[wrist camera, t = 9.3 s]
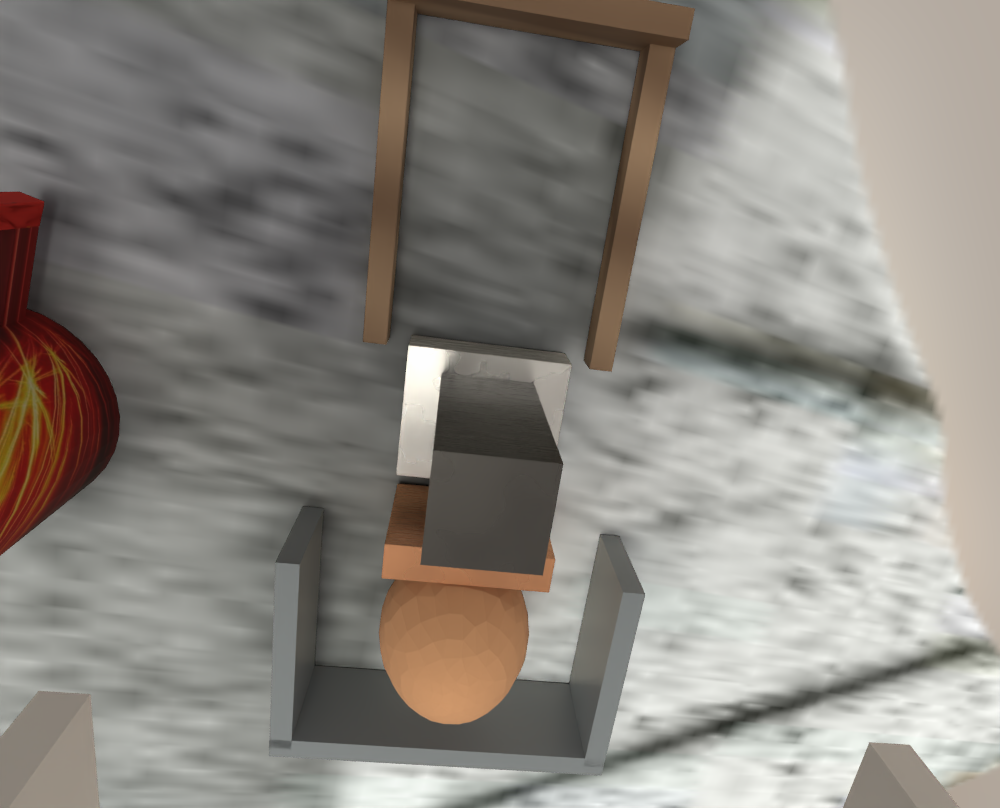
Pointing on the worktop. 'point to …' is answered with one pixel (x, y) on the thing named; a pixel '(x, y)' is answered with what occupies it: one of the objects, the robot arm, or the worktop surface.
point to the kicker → (478, 465)
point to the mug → (43, 391)
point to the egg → (452, 647)
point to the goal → (416, 740)
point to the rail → (655, 33)
